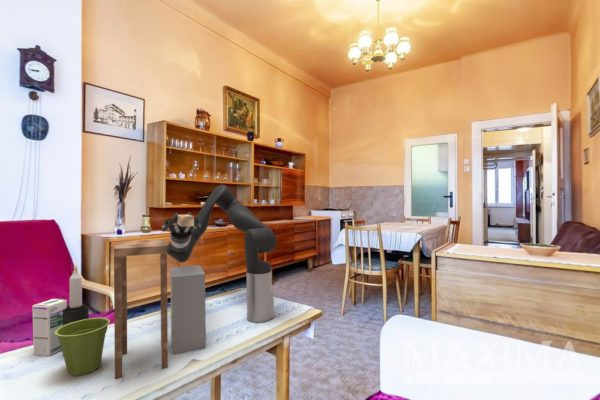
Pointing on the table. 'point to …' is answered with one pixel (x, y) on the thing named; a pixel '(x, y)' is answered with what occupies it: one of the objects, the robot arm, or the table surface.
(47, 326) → the syrup box
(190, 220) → the birch bar
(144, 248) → the walnut stool
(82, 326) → the plant pot
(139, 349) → the table surface
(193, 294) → the grey rectangular block
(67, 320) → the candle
